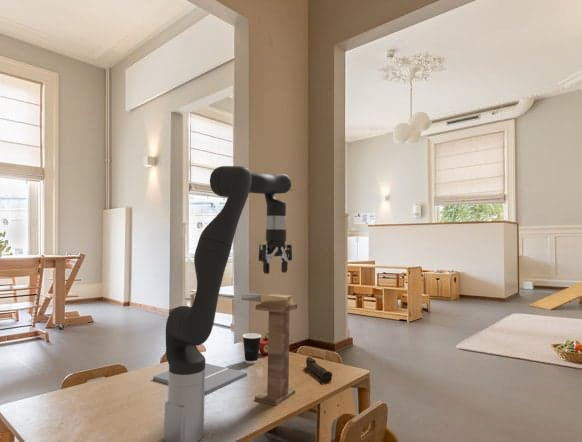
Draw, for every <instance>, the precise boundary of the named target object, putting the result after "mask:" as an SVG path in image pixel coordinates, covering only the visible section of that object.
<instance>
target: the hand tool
mask: <svg viewBox="0 0 582 442" xmlns="http://www.w3.org/2000/svg"><path fill="white" fill-rule="evenodd" d="M316 361H317V360H316V359H314V358H313V357H311V356H308V357H306V359H305V363H306V364H305V365H306V368H307V370H308V369H309V370H311V371H310V372H313V373H314V374H315V375H316V376H317V377H319V379H321V380H322V382H323V383H329V381H330V382H332V379H333V378H332V377H333V372H332V371H329V370H327V369H325V367H322V366H320V364H318V363H317V362H316ZM309 370H308V371H309Z"/></svg>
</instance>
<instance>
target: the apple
mask: <svg viewBox="0 0 582 442" xmlns="http://www.w3.org/2000/svg"><path fill="white" fill-rule="evenodd" d="M259 354H262V355H268V330H266V331H265V336H264V337H263V338H262V337H261V338H260V345H259Z"/></svg>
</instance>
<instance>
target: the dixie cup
mask: <svg viewBox="0 0 582 442" xmlns="http://www.w3.org/2000/svg"><path fill="white" fill-rule="evenodd" d="M261 338H262V335H261V333H253V332H252V333H244V334H242V339H243V351H244V360H245V363H246V364H256V363H258V360H259V354H260V351H259V345H260V339H261Z"/></svg>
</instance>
